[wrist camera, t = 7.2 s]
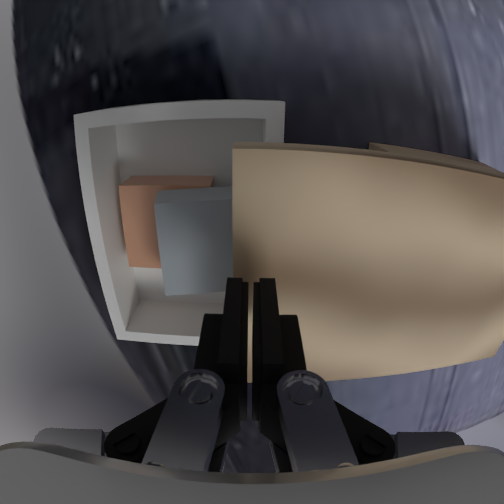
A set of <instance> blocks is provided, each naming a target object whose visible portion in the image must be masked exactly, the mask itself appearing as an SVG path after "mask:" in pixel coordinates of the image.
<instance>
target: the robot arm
mask: <svg viewBox="0 0 504 504" xmlns="http://www.w3.org/2000/svg"><path fill="white" fill-rule="evenodd" d="M248 289H249V282H243V278H233V277H227V283H226V291H225V300H224V309H223V314H210V313H205V314H204V317H203V322H202V328H201V333H200V338H199V344H198V350H197V355H196V361H195V367H194V370H189V371H187V372H185V373H183V374H182V375H180V376H179V377H178V378H177V379H176V381H175V383H174V385H173V387H172V389H171V392H170V394H169V397H168V398H167V399H165V400H163V401H162V402H160V403H158V404H157V405H155V406H153V407H152V408H150V409H148V410H146V411H145V412H143V413H141V414H139V415H138V416H136V417H134V418H132V419H131V420H129V421H127V422H125V423H123V424H121V425H120V426H118V427H116V428H115V429H113V430H112V431H111V432H103V430H102V429H65V428H46V429H43V430H41V431H40V432H39V433H38V434H37V435H36V436H35V439H34V441H33V442H14V443H8V444H4V445H1V446H0V504H504V452H502V451H501V450H499V449H496V448H493V447H488V446H480V445H464V442H463V439H462V438H461V437H460V436H459V435H457V434H456V433H454V432H448V431H447V432H397V434H396V435H391V434H389V433H387V432H386V431H385V430H383V429H381V428H380V427H378V426H376V425H375V424H373V423H371V422H369V421H368V420H366V419H364V418H363V417H361V416H359V415H357V414H356V413H354V412H352V411H351V410H349V409H347V408H346V407H344V406H343V405H341V404H339V403H338V402H336V401H334V400H333V397H332V395H331V393H330V390H329V388H328V385H327V383H326V382H325V380H324V379H323V378H322V377H321V376H319V375H318V374H316V373H314V372H311V371H307V368H306V362H305V356H304V350H303V344H302V338H301V333H300V327H299V321H298V317H297V315H279V307H278V299H277V290H276V281H275V278H260V279H259V282H254V283H253V324H252V421H259V429H260V432H261V433H262V434H263V435H264V436H266V437H267V438H268V439H270V447H271V451H272V455H273V460H274V464H275V468H276V473H222V471H223V467H224V463H225V459H226V454H227V450H228V446H229V439H231V438H232V437H233V436H235V435H236V434H237V433H239V432H240V420H245V421H247V367H248Z"/></svg>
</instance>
